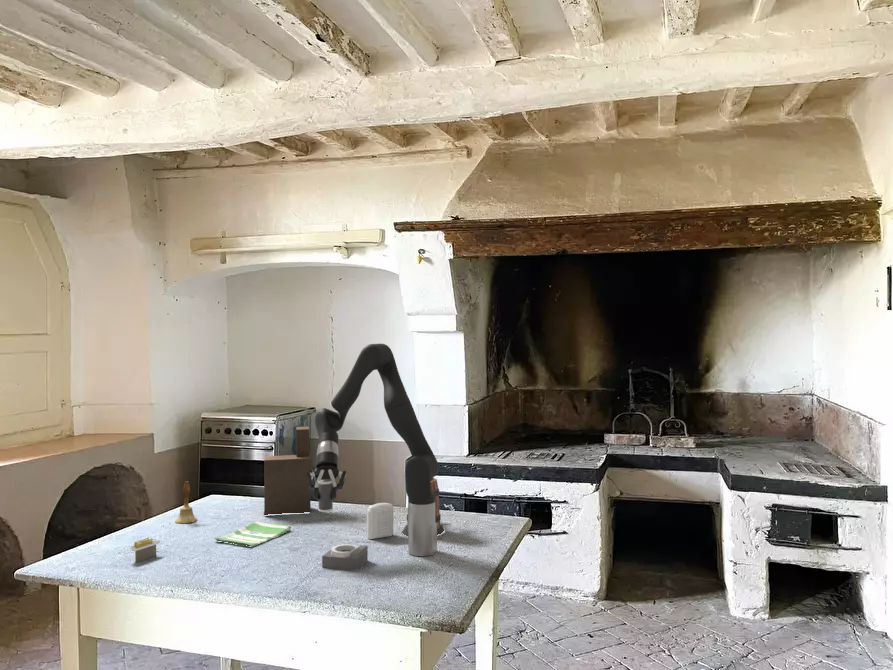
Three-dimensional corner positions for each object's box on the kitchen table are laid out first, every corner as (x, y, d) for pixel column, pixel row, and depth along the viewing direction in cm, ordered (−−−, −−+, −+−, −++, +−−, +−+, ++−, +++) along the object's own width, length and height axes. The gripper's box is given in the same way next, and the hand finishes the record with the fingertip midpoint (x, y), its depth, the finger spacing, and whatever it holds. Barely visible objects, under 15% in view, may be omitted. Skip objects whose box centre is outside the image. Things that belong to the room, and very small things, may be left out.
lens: (335, 508, 220) (334, 478, 220) (329, 512, 216) (328, 481, 216) (322, 507, 221) (321, 478, 222) (316, 511, 217) (315, 481, 217)
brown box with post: (310, 505, 288) (310, 426, 289) (310, 513, 274) (310, 430, 275) (265, 508, 284) (265, 427, 284) (263, 516, 270) (263, 432, 270)
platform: (107, 565, 212) (107, 544, 212) (154, 549, 228) (154, 530, 228) (132, 570, 207) (132, 550, 207) (178, 554, 223) (178, 535, 223)
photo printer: (389, 533, 246) (389, 500, 246) (395, 535, 242) (395, 502, 242) (365, 537, 240) (364, 504, 240) (370, 540, 236) (370, 506, 236)
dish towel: (212, 543, 235) (212, 535, 235) (257, 527, 256) (257, 520, 257) (251, 550, 228) (251, 542, 228) (293, 532, 249) (293, 525, 249)
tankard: (439, 540, 237) (439, 484, 237) (395, 536, 241) (395, 482, 241) (454, 522, 260) (454, 472, 260) (413, 520, 264) (413, 470, 264)
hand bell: (176, 519, 266) (176, 480, 267) (197, 517, 269) (198, 478, 269) (174, 524, 259) (174, 484, 259) (196, 522, 261) (196, 482, 261)
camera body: (367, 560, 214) (367, 545, 214) (357, 570, 205) (357, 554, 205) (333, 558, 217) (333, 543, 217) (322, 567, 208) (322, 551, 208)
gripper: (305, 451, 225) (302, 493, 213) (347, 449, 227) (346, 492, 215) (307, 463, 231) (304, 506, 218) (348, 462, 232) (347, 504, 220)
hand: (325, 499), depth 217 cm, fingers closed on lens, 4 cm apart
